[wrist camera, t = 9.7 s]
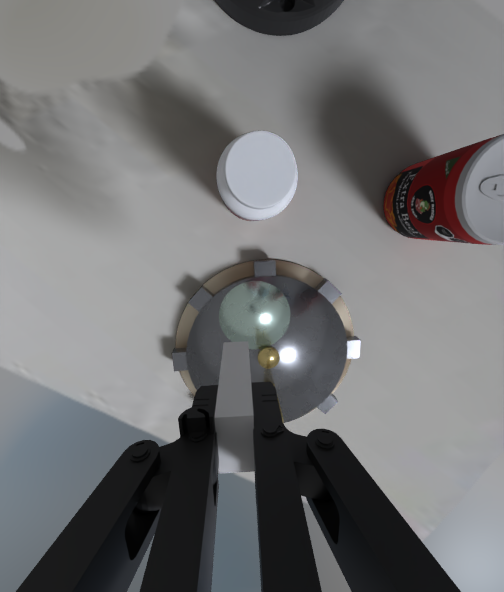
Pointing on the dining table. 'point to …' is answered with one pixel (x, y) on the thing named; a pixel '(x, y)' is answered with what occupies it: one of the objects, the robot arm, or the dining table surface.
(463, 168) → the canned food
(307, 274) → the base
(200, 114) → the dining table surface
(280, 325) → the sprocket
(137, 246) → the dining table surface
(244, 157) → the pill bottle
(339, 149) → the dining table surface
